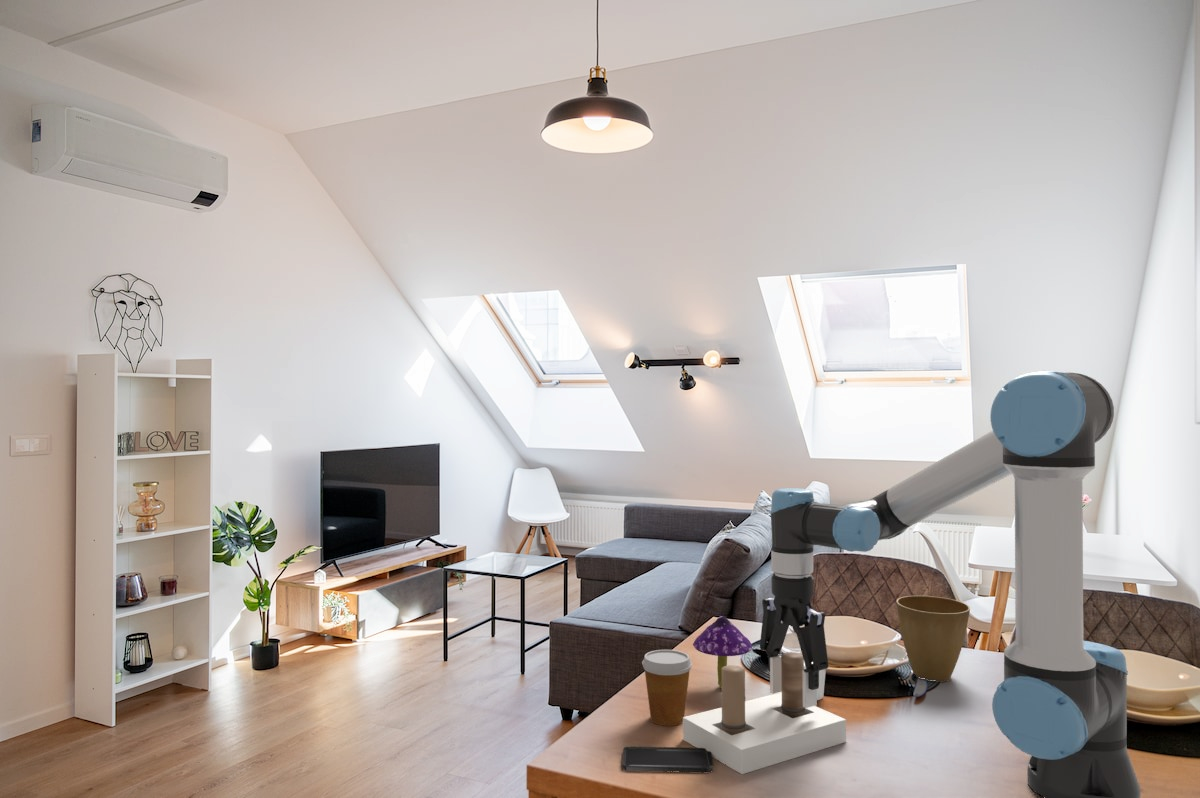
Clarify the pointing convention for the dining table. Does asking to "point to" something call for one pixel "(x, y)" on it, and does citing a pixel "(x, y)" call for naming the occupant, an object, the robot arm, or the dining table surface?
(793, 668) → the walnut leg
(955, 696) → the dining table surface
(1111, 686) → the robot arm
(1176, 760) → the dining table surface
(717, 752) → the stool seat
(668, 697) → the disposable coffee cup
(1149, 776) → the dining table surface
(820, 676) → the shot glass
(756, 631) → the dining table surface
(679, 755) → the phone
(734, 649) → the decorative mushroom
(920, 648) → the plant pot
